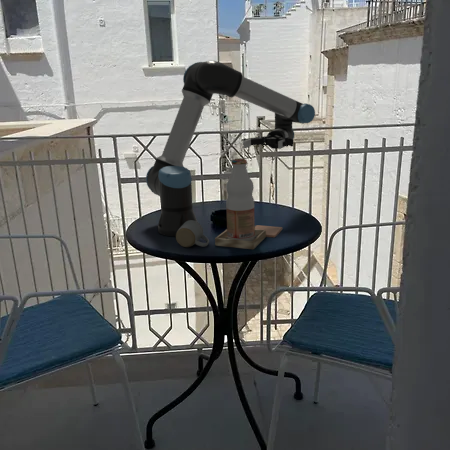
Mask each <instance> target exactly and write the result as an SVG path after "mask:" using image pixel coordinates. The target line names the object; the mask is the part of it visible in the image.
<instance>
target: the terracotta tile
mask: <svg viewBox="0 0 450 450" xmlns="http://www.w3.org/2000/svg"><path fill="white" fill-rule="evenodd" d="M255 229H259V230H266V237H265V238H276V237H277V236H278V235H279V234H280V233H281V232H282V230H283V227H282V226H270V225H257V224H255Z"/></svg>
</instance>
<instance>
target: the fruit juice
mask: <svg viewBox="0 0 450 450" xmlns="http://www.w3.org/2000/svg"><path fill="white" fill-rule="evenodd" d="M247 163H248V161H247V159H246V158H245V159H244V158H243V159H242V158H237V159H236V158H234V159H232V161H231V166H232V169H231V172H230V176H229V178H228V180H227V182H226V184H225V185H226V186H225V188H226V193H227V198H226V205H225V206H226V230H227V238H226V239H233V240H243V241H253V240H254V239H255V238H256V236H255V226H256V224H255V223H256V222H255V199H254V196H253V192H254V187H255V186H254V182H253V180H252V179H251V177H250V175H249V173H248V170H247Z"/></svg>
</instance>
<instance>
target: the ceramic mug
mask: <svg viewBox="0 0 450 450" xmlns="http://www.w3.org/2000/svg"><path fill="white" fill-rule="evenodd" d="M175 239H176V242H177V243H178V245H180V246H181V247H183V248H190V247H192V246H194V245H196V246H199V247H203V248H205V247H207V246H209V243H210V239H209V238H208V236H206V235H205V234H204V228H203V227H202V225H201V224H200V222H199V221H197V222H196V221H194V220H189V221H186V222H185V223H184V224H183V225H182V226H181V227H180V228H179V230H178V231H177V233H176V236H175ZM201 239H202V240H203V242H201V241H200V240H201ZM204 241H205V242H204Z"/></svg>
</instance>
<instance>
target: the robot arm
mask: <svg viewBox="0 0 450 450" xmlns="http://www.w3.org/2000/svg"><path fill="white" fill-rule="evenodd" d="M182 81H183V86H182V89H181V93H182V96H183V97H182V101H181V103H180V106H179V108H178V112H177V114H176V117H175V118H174V121H173V125H172V127H171V130H170V132H169V136H168V138H167V141H166V144H165V145H164V149H163V151H162V154H161V155H160V156H157V157H156V158H155V161H154V164H153V165H152V166H151V167H150V168H149V169H148V170H147V173H146V175H145V182H146V186H147V187H148V188H149V190H150V191H151V192H152V194H154V195H157V196H159V199H160V209H161V210H160V211H161V212H160V216H159V220H158V224H157V230H158V234H160V235H163V236H167V237H176V233H177V231H178V230H179V228H180V227H181V226H182V225H183V224H184V223H185V222H186V221H189V220H194V221H196V222H198V219H197V217H196V214H195V211H194V208H193V189H192V188H193V187H192V183H193V182H192V181H193V180H192V179H193V178H192V175H191V171H190V169H189V168H187V167H185V166H184V165H183V163H184V159H185V157H186V155H187V152H188V149H189V147H190V144H191V143H192V139H193V136H194V134H195V131H196V129H197V126H198V123H199V120H200V117H201V116H202V112H203V110H204V107H205V106H206V105H208V104H210V103H211V101H212V97H213V95H214V94H215V95H223V96H227V97H229V98H234V97H236V98H239V99H240V100H244V101H245V102H248V103H251V104H252V105H255V106H256V107H257V106H258V107H260V108H263V109H265V110H267V111H269V112H272V113H274V129H273V130H270V131H269V132H268V133H267V135H265V136H256V137H255V136H254V137H249V138H247V137H246V138H242V145H243V146H242V147H243V148H242V149H247V148H250V147H251V146H259V145H261V146H268V147H270V148H271V149H273V150H274V149H275V150H277V149H278V150H281V149H283V148H285V147H289V146H290V147H294V139H295V131H294V129H293V123H297V124H302V125H303V124H304V125H305V124H310V123H311V122H312V121H313V120H314V118H315V115H316V111H315V107H314V106H313V105H312V104H310V103H302V102H301V101H298V100H295V99H293V98H292V97H289V96H286V95H285V94H282V93H280V92H278V91H275V90H273V89H272V88H270V87H267V86H265V85H262V84H260V83H258V82H256V81H254V80H251V79H249V78H247V77H246V76H244V75H243V73H242V72H241V71H239V70H237V69H235V68H232V67H230V66H228V65H226V64H224V63H222V62H220V61H217V60H206V61H198V62H195V63H192V64H190V65H189V66H188V67H187V68H186V69H185V71H184V73H183V80H182Z"/></svg>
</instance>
